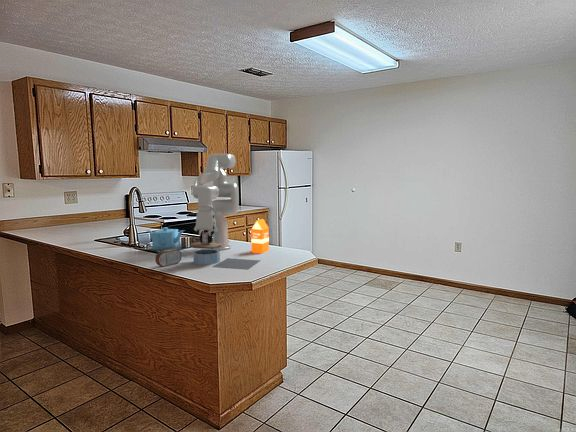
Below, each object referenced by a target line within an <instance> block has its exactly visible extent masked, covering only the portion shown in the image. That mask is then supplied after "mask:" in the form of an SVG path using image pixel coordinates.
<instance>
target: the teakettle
mask: <svg viewBox="0 0 576 432" xmlns="http://www.w3.org/2000/svg"><path fill="white" fill-rule="evenodd" d="M145 231H146V232H148V233H149V235H150V239H151V242H152V243H151V244H152V250H153V251H157V252H156V253H158V252H159V251H162V250H168V249H177V248H178V247H179V246H180V245H179V244H180V243H179V242H180V240H181V236H182V233H184V232H185V231H186V229H185V230H183V229H182V230H179V229H178V228H169V227H168V226H165V227H162V228H159V229H157V230H155V231H152V230H150V229H146V230H145Z"/></svg>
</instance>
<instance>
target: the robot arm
mask: <svg viewBox="0 0 576 432" xmlns="http://www.w3.org/2000/svg"><path fill="white" fill-rule="evenodd" d="M206 160H207V162H206V165H205V170H204V171H203V172H202V173H201V174H199V175H198V176H197V177H196V178H195V180H194V182H193V186H192V196H193V198H195V199H197V208H198V209H197V210H198V211H197V212H196V217H195V226H194V228H193V230H194V231H195V232H196V233H197V234H198V235H199V242H200V243H202V233H204V231H207V233H209V236H208V243H211V242H212V241H214V242H220V243H222V246H220V247H217V248H210V249H215V250H219V251H224V250H228V249H230V248H231V245H229V243H230V240H229V238H228V235H229V234H228V233H229V232H228V219H227V218H226V217H225V216H224V215H237V214H238V212H239V186H238V184H237V183H235V182H228V179H227V178H228V177H227V176H228V175H227V173H226V172H225V170H224V169H233V168H234V167H235V166H236V163H237V161H236V160H237V159H236V156H235V155H234V154H231V153H212V154H210V155H208V157H207V159H206ZM211 182H212V185H205V184H208V183H211ZM217 198H222V199H217ZM223 198H230V199H223Z"/></svg>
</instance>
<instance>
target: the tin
mask: <svg viewBox="0 0 576 432" xmlns="http://www.w3.org/2000/svg"><path fill="white" fill-rule="evenodd" d="M156 253H157V254H156V256H155V258H154V260H155V263H156V264H157V266H159V267H169V266H173V265H177V264H179V263H180V262H181V260H182V256H183V255H182V252H181V250H180V249H178V248H176V249H168V250H161V251H160V252H156Z"/></svg>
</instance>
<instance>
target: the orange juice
mask: <svg viewBox="0 0 576 432" xmlns="http://www.w3.org/2000/svg"><path fill="white" fill-rule="evenodd" d="M269 229H270V228H269V226H268V224H267V222H266V221H265V219H264V218H261V219H256V221H255V222H254V224H253V225H252V228H251V230H250V232H251V233H250V234H251V236H250V237H251V238H250V240H251V242H250V243H251V253H254V254H265V253H267V252H269V251H270V233H269V232H270V230H269Z"/></svg>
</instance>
